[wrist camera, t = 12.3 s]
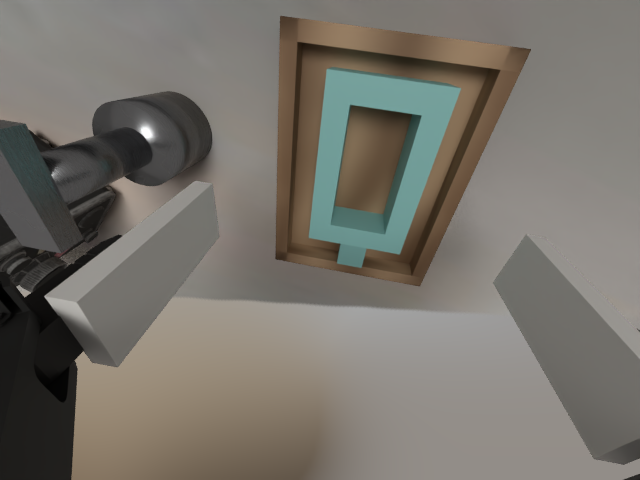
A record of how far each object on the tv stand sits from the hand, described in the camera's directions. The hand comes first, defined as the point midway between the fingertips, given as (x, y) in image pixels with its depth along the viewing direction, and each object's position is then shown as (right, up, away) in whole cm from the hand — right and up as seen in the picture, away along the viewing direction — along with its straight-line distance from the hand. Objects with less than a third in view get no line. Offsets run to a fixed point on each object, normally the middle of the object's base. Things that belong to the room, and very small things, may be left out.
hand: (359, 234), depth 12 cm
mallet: (-13, +8, +9) cm, 18 cm away
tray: (+2, +5, +9) cm, 10 cm away
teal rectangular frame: (+2, +5, +8) cm, 10 cm away
